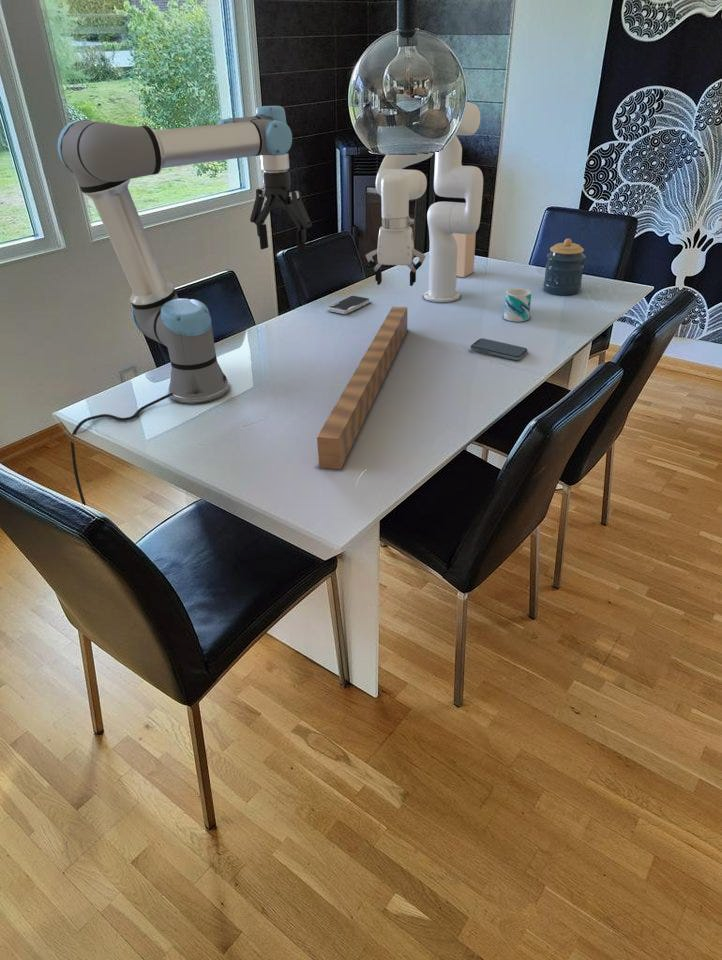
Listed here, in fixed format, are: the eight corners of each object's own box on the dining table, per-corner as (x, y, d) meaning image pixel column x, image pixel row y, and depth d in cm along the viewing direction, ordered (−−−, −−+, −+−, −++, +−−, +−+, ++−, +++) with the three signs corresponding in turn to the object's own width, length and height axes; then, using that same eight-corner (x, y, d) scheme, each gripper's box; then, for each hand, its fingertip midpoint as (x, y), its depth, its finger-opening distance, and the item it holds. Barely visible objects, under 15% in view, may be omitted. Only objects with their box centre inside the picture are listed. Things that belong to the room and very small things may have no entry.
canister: (554, 297, 232) (561, 245, 222) (536, 286, 243) (541, 236, 233) (587, 292, 235) (595, 240, 225) (568, 282, 245) (574, 232, 236)
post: (340, 469, 143) (338, 438, 138) (319, 467, 144) (316, 436, 139) (407, 330, 211) (407, 307, 207) (392, 329, 212) (392, 306, 208)
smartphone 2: (518, 357, 186) (469, 345, 193) (518, 362, 187) (469, 351, 194) (528, 347, 191) (480, 337, 198) (528, 353, 192) (480, 342, 199)
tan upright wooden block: (464, 277, 255) (467, 216, 243) (444, 274, 259) (446, 214, 248) (478, 268, 264) (481, 209, 252) (458, 266, 268) (461, 208, 256)
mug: (499, 319, 216) (501, 293, 211) (513, 308, 224) (516, 283, 220) (524, 323, 212) (526, 296, 207) (537, 311, 220) (540, 286, 216)
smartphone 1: (370, 298, 234) (345, 310, 224) (370, 302, 235) (345, 314, 224) (352, 295, 238) (327, 307, 227) (352, 299, 238) (327, 311, 228)
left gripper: (321, 171, 179) (325, 252, 191) (249, 166, 191) (257, 243, 202) (304, 175, 174) (310, 258, 185) (232, 170, 185) (241, 249, 197)
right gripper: (427, 220, 188) (426, 281, 197) (367, 219, 192) (369, 279, 201) (423, 226, 182) (422, 289, 191) (362, 225, 186) (363, 287, 195)
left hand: (282, 251), depth 194 cm, fingers open, 13 cm apart
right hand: (395, 284), depth 196 cm, fingers open, 9 cm apart
